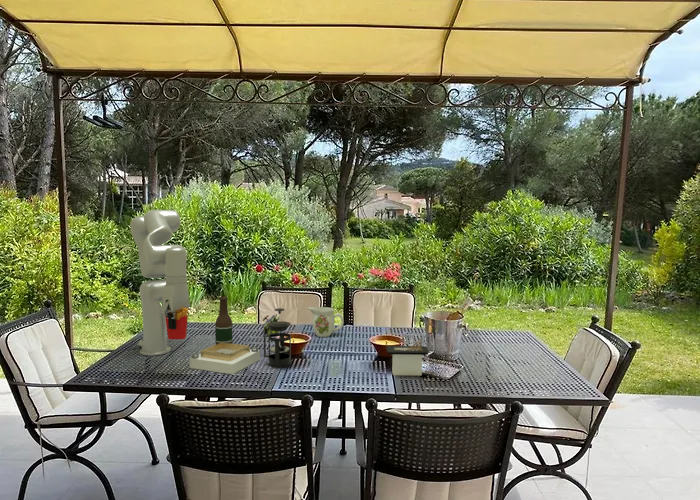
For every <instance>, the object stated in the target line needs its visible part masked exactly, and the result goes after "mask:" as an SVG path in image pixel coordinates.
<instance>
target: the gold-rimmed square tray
mask: <svg viewBox="0 0 700 500" xmlns="http://www.w3.org/2000/svg"><path fill="white" fill-rule="evenodd" d="M260 360H261V350H259V347H252V348H251V347H250V345H246V344H239V343H233V342H232V343H225V342H220V343H218V344H216V343H215V344H214V345H211V346H209V347H206V348H204V349H202V350H200V353H199V354H198V353H194V354H191V357H189V368H190V369H194V370H200V371H206V372H207V371H208V372H215V373H221V374H226V375H227V374H228V375H235V374H236V373H239V372H240V371H242V370H243V369H246V368H248V367H249V366H251V365H252V364H254V363H257V362H259V361H260Z"/></svg>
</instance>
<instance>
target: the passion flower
mask: <svg viewBox="0 0 700 500" xmlns="http://www.w3.org/2000/svg"><path fill="white" fill-rule="evenodd" d="M268 318H269V319H268ZM265 320H266V321H265ZM276 321H279V315H278V313H276V314H274V315H272V316H271V317H270V315H266V316H264V318H263V319H262V322H264V323H263V325H262V328H263V329H262V332H264V333H267V335H270V334H273V333H279V331H271V330H270V326H269V325H268V324H269V323H271V322H276ZM280 333H282V331H280Z"/></svg>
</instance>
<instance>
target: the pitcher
mask: <svg viewBox="0 0 700 500" xmlns="http://www.w3.org/2000/svg"><path fill="white" fill-rule="evenodd" d="M307 309H308V310H309V311H310V312H311V314H312V321H311V322H312V329H313V331H314V333H315V334H316V335H315V336H317V337H318V338H319V337H320V338H328V337H330V336H331V335H332V333H333V332H336V331H339V330H340V329H342V328H343V326H344V323H345V322H344V321H345V320H344V316H343V315H342V314H341V313H335V312H334V311H335V309H334V308H332V307H327V306H316V307H315V306H311V307H307ZM334 313H335V314H334ZM337 317H339V318H340V325H339V326H338V327H335V322H336V321H335V320H336V319H335V318H337Z"/></svg>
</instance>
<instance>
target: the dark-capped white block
mask: <svg viewBox="0 0 700 500" xmlns="http://www.w3.org/2000/svg"><path fill="white" fill-rule="evenodd" d="M422 341H423V340H422V337H421V338H420V339H418V341H416V342H414V344H412V345H386V348H385V349H386V352H387V355H392V364H391V365H392V367H391V368H392V370H391V372H392V373H391V374H392V375H393V376H422V375H423V373H422V372H423V355H424V356H425V355H426V356H427V355H429V351H430V350H429V348H428V346H426V345H425V346H424V345H423V346H422Z"/></svg>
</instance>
